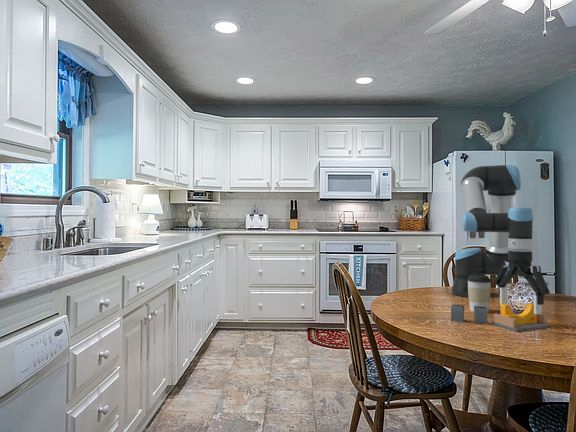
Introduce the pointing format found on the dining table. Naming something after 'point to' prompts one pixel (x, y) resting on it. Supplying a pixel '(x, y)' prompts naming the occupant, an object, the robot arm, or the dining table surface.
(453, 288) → the robot arm
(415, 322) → the dining table surface
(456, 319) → the block
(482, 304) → the coffee cup
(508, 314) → the pipe clamp
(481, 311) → the block
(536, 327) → the end holder
